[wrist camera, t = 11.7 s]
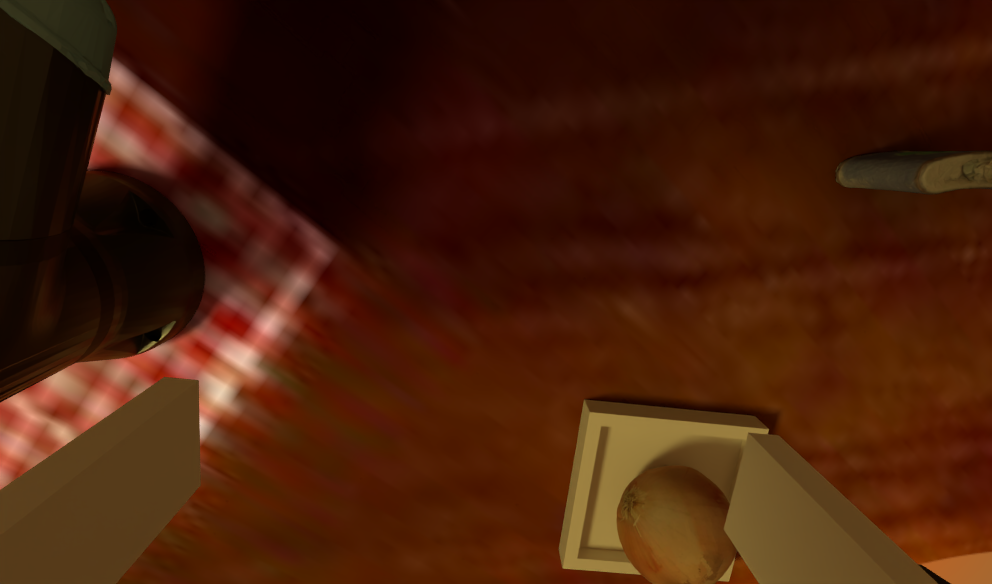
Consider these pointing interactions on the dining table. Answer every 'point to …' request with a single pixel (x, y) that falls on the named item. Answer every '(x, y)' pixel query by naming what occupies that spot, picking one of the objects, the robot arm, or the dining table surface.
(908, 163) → the flask
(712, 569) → the onion
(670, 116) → the dining table surface
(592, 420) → the dish
